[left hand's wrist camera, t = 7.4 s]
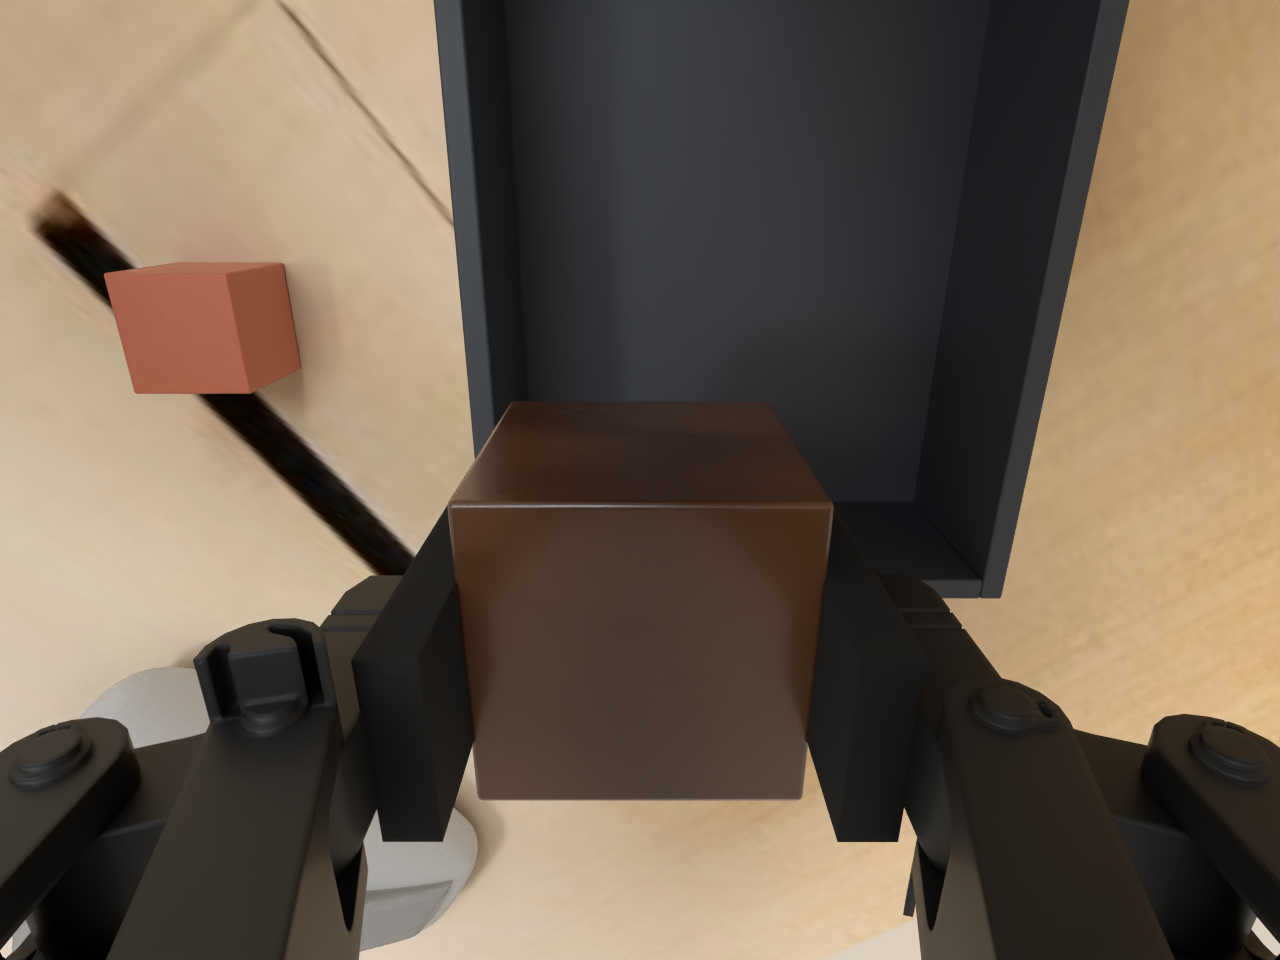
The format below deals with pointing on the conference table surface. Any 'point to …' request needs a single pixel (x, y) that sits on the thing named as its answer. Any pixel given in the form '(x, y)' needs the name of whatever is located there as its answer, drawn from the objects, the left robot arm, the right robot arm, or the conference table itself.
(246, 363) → the terracotta block
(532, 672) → the walnut block
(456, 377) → the conference table surface
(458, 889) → the projector
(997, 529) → the tote
